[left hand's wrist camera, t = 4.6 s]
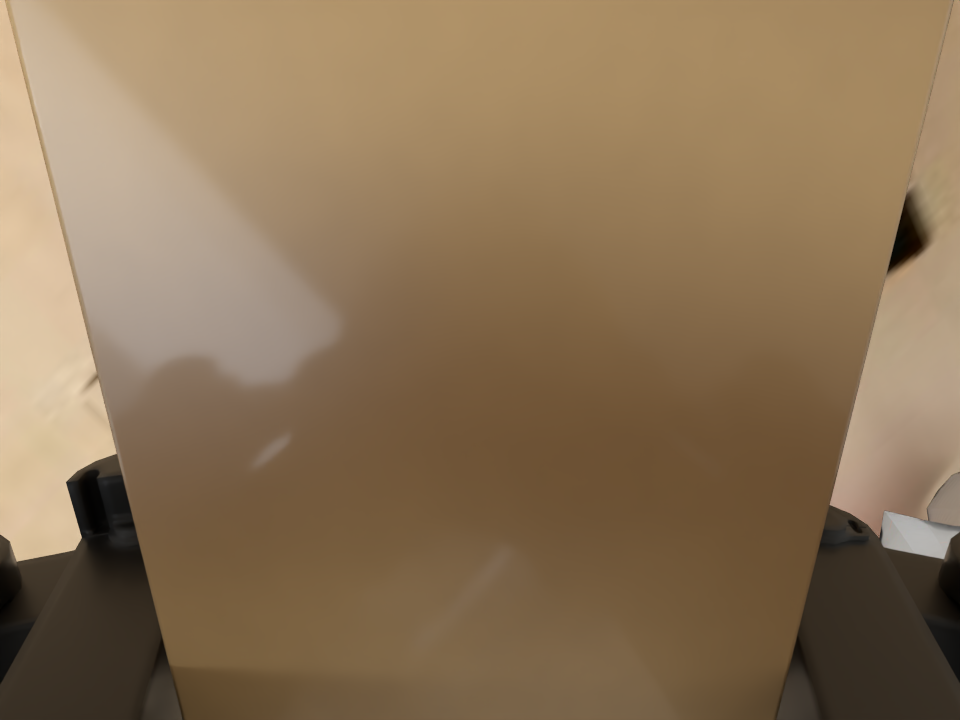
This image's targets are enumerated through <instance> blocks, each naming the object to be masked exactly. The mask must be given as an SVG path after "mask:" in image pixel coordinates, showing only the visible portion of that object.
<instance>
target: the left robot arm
mask: <svg viewBox="0 0 960 720" xmlns="http://www.w3.org/2000/svg"><path fill="white" fill-rule="evenodd" d="M66 484H67V487H68V491H69V494H70V498H71V501H72V505H73V508H74V512H75V515H76V518H77V522H78V525H79V529H80V532H81V536H82V539H81V541H80V542H79V544H78V546H77V548H76V550H74V551H70V552H65V553H60V554H55V555H49V556H44V557H39V558H34V559H29V560H24V561H18V562H16V559H15V556H14V553H13V550H12V547H11V544H10V541H8V540H7V539H6V538H4V537H3V536H2V535H0V720H183V719H182V715H181V711H180V707H179V703H178V698H177V694H176V690H175V686H174V682H173V678H172V674H171V670H170V666H169V662H168V658H167V654H166V650H165V646H164V642H163V638H162V634H161V630H160V626H159V622H158V618H157V613H156V609H155V605H154V601H153V597H152V593H151V589H150V585H149V581H148V577H147V573H146V569H145V565H144V561H143V557H142V553H141V549H140V545H139V541H138V537H137V533H136V528H135V524H134V520H133V516H132V512H131V508H130V504H129V500H128V496H127V492H126V488H125V484H124V480H123V476H122V472H121V468H120V464H119V460H118V456H117V454H115V455H112V456H109V457H107V458H104V459H101V460H98V461H95V462H94V463H92V464H90V465H88V466H86V467H84V468H83V469H81V470H79V471H77V472H76V473H75V474H74V475H73V476H72V477H71V478H70V479H69V480H68V481H67V482H66ZM777 720H960V532H959V533H958V534H956V535H955V536H953V537H952V538H951V539H950V542H949V545H948V548H947V551H946V554H945V557H944V559H941V558H935V557H930V556H925V555H920V554H915V553H909V552H904V551H899V550H894V549H889V548H885V547H883V545H882V543H881V541H880V540H879V538H878V536H877V535H876V534H875V533H874V532H873V531H872V530H871V528H870V527H869V526H868V525H867V524H865V523H864V522H862V521H861V520H859V519H858V518H856V517H855V516H853V515H851V514H850V513H847V512H845V511H842V510H840V509H838V508H835V507H833V506H830V505H829V509H828V513H827V517H826V521H825V525H824V529H823V533H822V537H821V541H820V545H819V549H818V553H817V557H816V562H815V566H814V570H813V574H812V578H811V582H810V586H809V590H808V594H807V598H806V602H805V606H804V610H803V614H802V618H801V622H800V626H799V630H798V634H797V639H796V643H795V647H794V651H793V655H792V659H791V663H790V667H789V671H788V675H787V679H786V683H785V687H784V691H783V695H782V699H781V703H780V707H779V712H778V716H777Z"/></svg>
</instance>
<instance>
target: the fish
mask: <svg viewBox="0 0 960 720" xmlns="http://www.w3.org/2000/svg"><path fill="white" fill-rule="evenodd" d="M927 514H928V520H929V521H926V520H922V519H918V518H913V517H909V516H905V515H901V514H897V513H893V512H889V511H884V515H883V521H882V527H881V533H880V539H879V540H880V541H881V543H882V545H883V547H885V548H889V549H894V550H899V551H904V552H909V553H915V554H920V555H925V556H930V557H935V558H941V559H944V557H945V554H946V551H947V548H948V545H949V542H950V539H951V538H952V537H953V536H955V535H956V534H958V533H959V532H960V472H958V473H956V474H954V475H952V476H951V477H950V478H949V479H948V480H947V481H946V482H945V483H944V484H943V485H942V487H941V488H940V489H939V490H938V491H937V493H936V494H935V496H934V498H933V499H932V501H931V503H930V504H929V506H928V507H927Z"/></svg>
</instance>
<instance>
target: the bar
mask: <svg viewBox="0 0 960 720" xmlns="http://www.w3.org/2000/svg"><path fill="white" fill-rule="evenodd" d="M5 2H6V6H7V10H8V14H9V18H10V22H11V26H12V31H13V35H14V39H15V43H16V47H17V51H18V55H19V59H20V63H21V67H22V71H23V75H24V79H25V83H26V87H27V91H28V95H29V99H30V103H31V107H32V111H33V116H34V120H35V124H36V128H37V132H38V136H39V140H40V144H41V148H42V152H43V156H44V160H45V164H46V168H47V172H48V176H49V180H50V184H51V188H52V192H53V197H54V201H55V205H56V209H57V213H58V217H59V221H60V225H61V229H62V233H63V237H64V241H65V245H66V249H67V253H68V257H69V261H70V265H71V269H72V273H73V277H74V282H75V286H76V290H77V294H78V298H79V302H80V306H81V310H82V314H83V318H84V322H85V326H86V330H87V334H88V338H89V342H90V346H91V350H92V354H93V358H94V362H95V367H96V371H97V375H98V379H99V383H100V387H101V391H102V395H103V399H104V403H105V407H106V411H107V415H108V419H109V423H110V427H111V431H112V435H113V439H114V443H115V447H116V452H117V456H118V460H119V464H120V468H121V472H122V476H123V480H124V484H125V488H126V492H127V496H128V500H129V504H130V508H131V512H132V516H133V520H134V524H135V528H136V533H137V537H138V541H139V545H140V549H141V553H142V557H143V561H144V565H145V569H146V573H147V577H148V581H149V585H150V589H151V593H152V597H153V601H154V605H155V609H156V613H157V618H158V622H159V626H160V630H161V634H162V638H163V642H164V646H165V650H166V654H167V658H168V662H169V666H170V670H171V674H172V678H173V682H174V686H175V690H176V694H177V698H178V703H179V707H180V711H181V715H182V719H183V720H777V716H778V712H779V707H780V703H781V699H782V695H783V691H784V687H785V683H786V679H787V675H788V671H789V667H790V663H791V659H792V655H793V651H794V647H795V643H796V639H797V634H798V630H799V626H800V622H801V618H802V614H803V610H804V606H805V602H806V598H807V594H808V590H809V586H810V582H811V578H812V574H813V570H814V566H815V562H816V557H817V553H818V549H819V545H820V541H821V537H822V533H823V529H824V525H825V521H826V517H827V513H828V509H829V505H830V501H831V497H832V493H833V489H834V484H835V480H836V476H837V472H838V468H839V464H840V460H841V456H842V452H843V448H844V444H845V440H846V436H847V432H848V428H849V424H850V420H851V416H852V411H853V407H854V403H855V399H856V395H857V391H858V387H859V383H860V379H861V375H862V371H863V367H864V363H865V359H866V355H867V351H868V347H869V343H870V338H871V334H872V330H873V326H874V322H875V318H876V314H877V310H878V306H879V302H880V298H881V294H882V290H883V286H884V282H885V278H886V274H887V270H888V266H889V261H890V257H891V253H892V249H893V245H894V241H895V237H896V233H897V229H898V225H899V221H900V217H901V213H902V209H903V205H904V201H905V197H906V193H907V188H908V184H909V180H910V176H911V172H912V168H913V164H914V160H915V156H916V152H917V148H918V144H919V140H920V136H921V132H922V128H923V124H924V120H925V115H926V111H927V107H928V103H929V99H930V95H931V91H932V87H933V83H934V79H935V75H936V71H937V67H938V63H939V59H940V55H941V51H942V47H943V42H944V38H945V34H946V30H947V26H948V22H949V18H950V14H951V10H952V6H953V2H954V0H5Z"/></svg>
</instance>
